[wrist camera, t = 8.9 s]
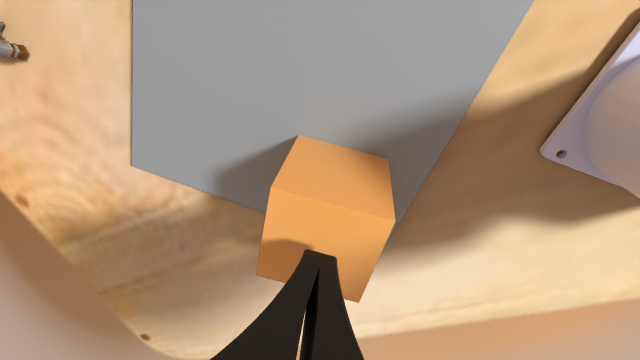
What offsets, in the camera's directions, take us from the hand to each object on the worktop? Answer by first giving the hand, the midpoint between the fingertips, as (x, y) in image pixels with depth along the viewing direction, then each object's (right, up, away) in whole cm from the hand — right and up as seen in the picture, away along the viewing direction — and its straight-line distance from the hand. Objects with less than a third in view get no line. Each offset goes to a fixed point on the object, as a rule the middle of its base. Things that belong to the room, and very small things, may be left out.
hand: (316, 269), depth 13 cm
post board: (-1, +9, +4) cm, 10 cm away
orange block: (+1, +4, +6) cm, 7 cm away
